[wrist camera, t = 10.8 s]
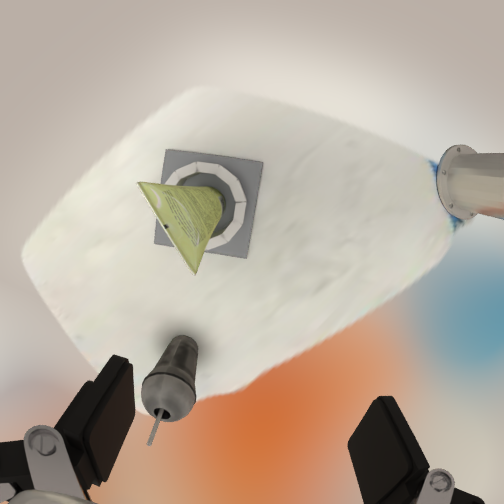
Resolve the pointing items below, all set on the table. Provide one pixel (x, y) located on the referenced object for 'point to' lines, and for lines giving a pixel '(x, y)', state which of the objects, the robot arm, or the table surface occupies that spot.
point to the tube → (186, 216)
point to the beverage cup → (171, 383)
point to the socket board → (232, 188)
